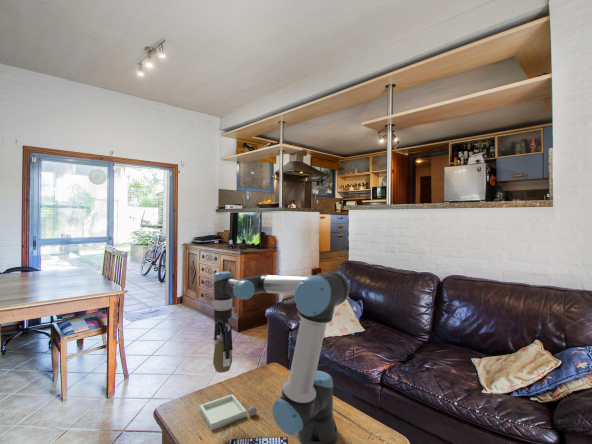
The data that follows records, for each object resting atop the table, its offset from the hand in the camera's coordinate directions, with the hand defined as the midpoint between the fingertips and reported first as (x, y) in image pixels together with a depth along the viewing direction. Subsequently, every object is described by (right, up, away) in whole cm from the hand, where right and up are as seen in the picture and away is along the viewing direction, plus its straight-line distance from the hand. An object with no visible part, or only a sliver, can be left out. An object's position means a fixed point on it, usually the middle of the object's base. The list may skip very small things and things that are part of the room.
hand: (222, 362), depth 128 cm
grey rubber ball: (+13, -22, -1) cm, 25 cm away
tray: (0, -22, 0) cm, 22 cm away
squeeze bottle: (0, -3, 0) cm, 3 cm away
